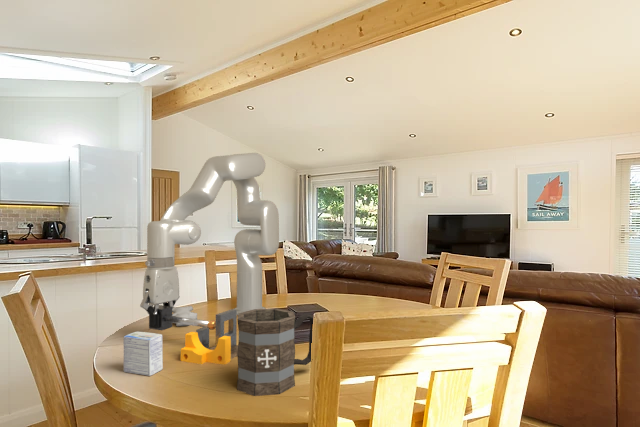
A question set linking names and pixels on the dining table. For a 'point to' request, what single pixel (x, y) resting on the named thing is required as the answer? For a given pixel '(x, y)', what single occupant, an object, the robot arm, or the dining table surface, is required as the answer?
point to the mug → (268, 350)
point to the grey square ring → (222, 330)
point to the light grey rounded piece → (184, 313)
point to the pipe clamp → (206, 350)
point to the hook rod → (178, 320)
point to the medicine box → (143, 353)
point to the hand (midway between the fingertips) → (160, 324)
